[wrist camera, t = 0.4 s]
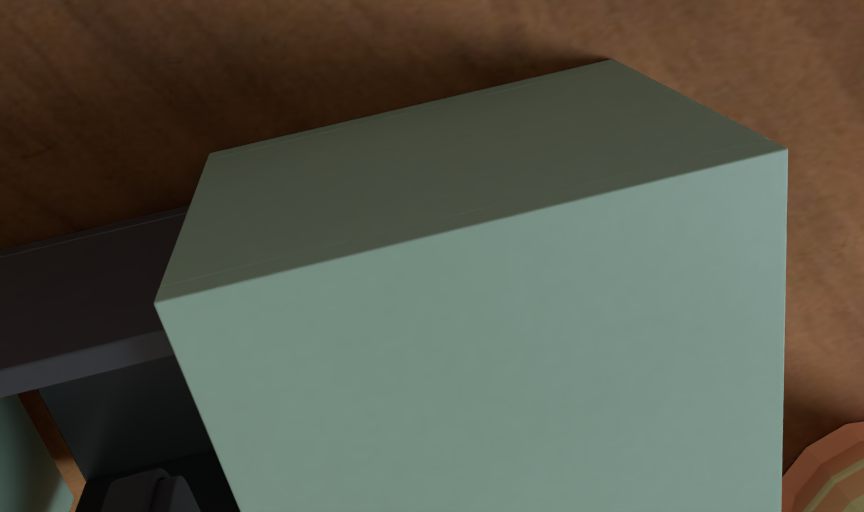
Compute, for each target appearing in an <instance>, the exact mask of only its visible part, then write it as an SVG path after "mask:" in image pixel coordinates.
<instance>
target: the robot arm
mask: <svg viewBox="0 0 864 512" xmlns="http://www.w3.org/2000/svg"><path fill="white" fill-rule="evenodd" d="M101 512H201V511H200V509H199V507H198V505H197V503H196V501H195V499H194V496H193V494H192V492H191V490H190V488H189V486H188V484H187V482H186V480H185V479H184V478H183V477H182V476H175V477H172V478H170V476H169V474H168V473H167V472H166V471H165V470H164V469H161V468H158V469H154V470H151V471H147V472H143V473H139V474H136V475H132V476H128V477H124V478H121V479H117V480H115V481H113V482H112V483H111V484H110V486H109V488H108V491H107V494H106V497H105V500H104V503H103V506H102V509H101Z"/></svg>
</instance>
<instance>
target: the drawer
mask: <svg viewBox="0 0 864 512" xmlns="http://www.w3.org/2000/svg"><path fill="white" fill-rule="evenodd" d="M189 207H190V205H188V206H184V207H180V208H175V209H171V210H167V211H163V212H159V213H154V214H150V215H146V216H142V217H138V218H133V219H129V220H125V221H121V222H116V223H112V224H108V225H104V226H100V227H95V228H91V229H87V230H83V231H79V232H74V233H70V234H66V235H62V236H57V237H53V238H49V239H45V240H41V241H36V242H32V243H28V244H24V245H20V246H15V247H11V248H7V249H3V250H0V512H69V511H70V508H71V505H72V503H73V500H74V497H73V496H72V494H71V492H70V490H69V488H68V486H67V485H66V483H65V481H64V479H63V477H62V475H61V474H60V472H59V470H58V468H57V466H56V464H55V463H54V461H53V459H52V457H51V455H50V453H49V451H48V450H47V448H46V446H45V444H44V442H43V440H42V439H41V437H40V435H39V433H38V431H37V429H36V428H35V426H34V424H33V422H32V420H31V418H30V417H29V415H28V413H27V411H26V409H25V407H24V406H23V404H22V402H21V400H20V398H19V396H18V395H17V394H18V393H22V392H26V391H30V390H34V389H37V390H38V392H39V394H40V395H41V397H42V399H43V401H44V403H45V405H46V407H47V409H48V411H49V412H50V414H51V416H52V418H53V420H54V422H55V424H56V426H57V428H58V429H59V431H60V433H61V435H62V437H63V439H64V441H65V443H66V445H67V447H68V448H69V450H70V452H71V454H72V456H73V458H74V460H75V462H76V464H77V465H78V467H79V469H80V471H81V473H82V475H83V477H84V479H85V481H86V482H87V483H86V484H85V487H84V489H83V492H82V495H81V497H80V500H79V503H78V505H77V508H76V511H75V512H101V509H102V506H103V503H104V500H105V497H106V494H107V491H108V488H109V486H110V484H111V483H112V482H113V481H115V480H117V479H121V478H124V477H128V476H132V475H136V474H139V473H143V472H147V471H151V470H154V469H158V468H161V469H164V470H165V471H166V472H167V473H168V474H169V476H170V478H172V477H175V476H182V477H183V478H184V479H185V480H186V482H187V484H188V486H189V488H190V490H191V492H192V494H193V496H194V499H195V501H196V503H197V505H198V507H199V509H200V511H201V512H240V510H239V507H238V505H237V503H236V500H235V498H234V495H233V493H232V491H231V488H230V486H229V483H228V481H227V479H226V476H225V474H224V471H223V469H222V467H221V464H220V462H219V459H218V457H217V455H216V452H215V450H214V447H213V445H212V443H211V440H210V438H209V435H208V433H207V431H206V428H205V426H204V423H203V421H202V419H201V416H200V414H199V411H198V409H197V407H196V404H195V402H194V399H193V397H192V395H191V392H190V390H189V388H188V385H187V383H186V380H185V378H184V376H183V373H182V371H181V368H180V366H179V364H178V361H177V359H176V356H175V354H174V352H173V349H172V347H171V344H170V342H169V340H168V337H167V335H166V332H165V330H164V328H163V325H162V323H161V320H160V318H159V316H158V313H157V311H156V308H155V306H154V301H155V298H156V295H157V293H158V290H159V288H160V285H161V282H162V279H163V276H164V274H165V271H166V268H167V266H168V263H169V260H170V258H171V255H172V252H173V250H174V247H175V244H176V242H177V239H178V236H179V234H180V231H181V228H182V225H183V223H184V220H185V217H186V215H187V212H188V209H189Z"/></svg>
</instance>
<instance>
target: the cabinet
mask: <svg viewBox="0 0 864 512" xmlns="http://www.w3.org/2000/svg"><path fill="white" fill-rule="evenodd" d="M787 175H788V149H787V148H786V147H784V146H782V145H780V144H778V143H776V142H774V141H772V140H769V139H768V138H766V137H764V136H762V135H760V134H758V133H757V132H755V131H753V130H751V129H749V128H747V127H745V126H743V125H741V124H739V123H737V122H735V121H733V120H731V119H729V118H727V117H725V116H723V115H721V114H720V113H718V112H716V111H714V110H712V109H710V108H708V107H706V106H704V105H702V104H700V103H698V102H696V101H694V100H692V99H690V98H688V97H686V96H684V95H683V94H681V93H679V92H677V91H675V90H673V89H671V88H669V87H667V86H665V85H663V84H661V83H659V82H657V81H655V80H653V79H651V78H649V77H647V76H646V75H644V74H642V73H640V72H638V71H636V70H634V69H632V68H630V67H628V66H626V65H624V64H622V63H620V62H618V61H616V60H614V59H611V60H606V61H602V62H598V63H594V64H589V65H585V66H581V67H577V68H572V69H568V70H564V71H559V72H555V73H551V74H547V75H542V76H538V77H534V78H530V79H525V80H521V81H517V82H512V83H508V84H504V85H500V86H495V87H491V88H487V89H483V90H478V91H474V92H470V93H465V94H461V95H457V96H453V97H448V98H444V99H440V100H436V101H431V102H427V103H423V104H418V105H414V106H410V107H406V108H401V109H397V110H393V111H389V112H384V113H380V114H376V115H371V116H367V117H363V118H359V119H354V120H350V121H346V122H342V123H337V124H333V125H329V126H325V127H320V128H316V129H312V130H307V131H303V132H299V133H295V134H290V135H286V136H282V137H278V138H273V139H269V140H265V141H260V142H256V143H252V144H248V145H243V146H239V147H235V148H231V149H226V150H222V151H218V152H213V153H210V154H209V156H208V158H207V161H206V164H205V166H204V169H203V172H202V174H201V177H200V180H199V182H198V185H197V188H196V191H195V193H194V196H193V199H192V201H191V204H190V207H189V209H188V212H187V215H186V217H185V220H184V223H183V225H182V228H181V231H180V234H179V236H178V239H177V242H176V244H175V247H174V250H173V252H172V255H171V258H170V260H169V263H168V266H167V268H166V271H165V274H164V276H163V279H162V282H161V285H160V288H159V290H158V293H157V295H156V298H155V301H154V306H155V308H156V311H157V313H158V316H159V318H160V320H161V323H162V325H163V328H164V330H165V332H166V335H167V337H168V340H169V342H170V344H171V347H172V349H173V352H174V354H175V356H176V359H177V361H178V364H179V366H180V368H181V371H182V373H183V376H184V378H185V380H186V383H187V385H188V388H189V390H190V392H191V395H192V397H193V399H194V402H195V404H196V407H197V409H198V411H199V414H200V416H201V419H202V421H203V423H204V426H205V428H206V431H207V433H208V435H209V438H210V440H211V443H212V445H213V447H214V450H215V452H216V455H217V457H218V459H219V462H220V464H221V467H222V469H223V471H224V474H225V476H226V479H227V481H228V483H229V486H230V488H231V491H232V493H233V495H234V498H235V500H236V503H237V505H238V507H239V510H240V512H781V496H782V443H783V389H784V336H785V282H786V229H787Z"/></svg>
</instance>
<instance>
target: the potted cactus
mask: <svg viewBox="0 0 864 512" xmlns="http://www.w3.org/2000/svg"><path fill="white" fill-rule="evenodd" d="M781 512H864V421H863V422H856V423H850V424H845V425H844V426H842V427H840V428H839V429H837V430H835V431H834V432H832V433H830V434H828V435H827V436H825V437H823V438H822V439H820V440H818V441H816V442H815V443H813V444H811V445H810V446H808V447H806V448H805V449H804V451H803V452H802V453H801V454H800V456H799V457H798V458H797V459H796V461H795V462H794V463H793V464H792V466H791V467H790V468H789V469H788V471H787V472H786V473H785V475H784V476H783V477H782V496H781Z"/></svg>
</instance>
